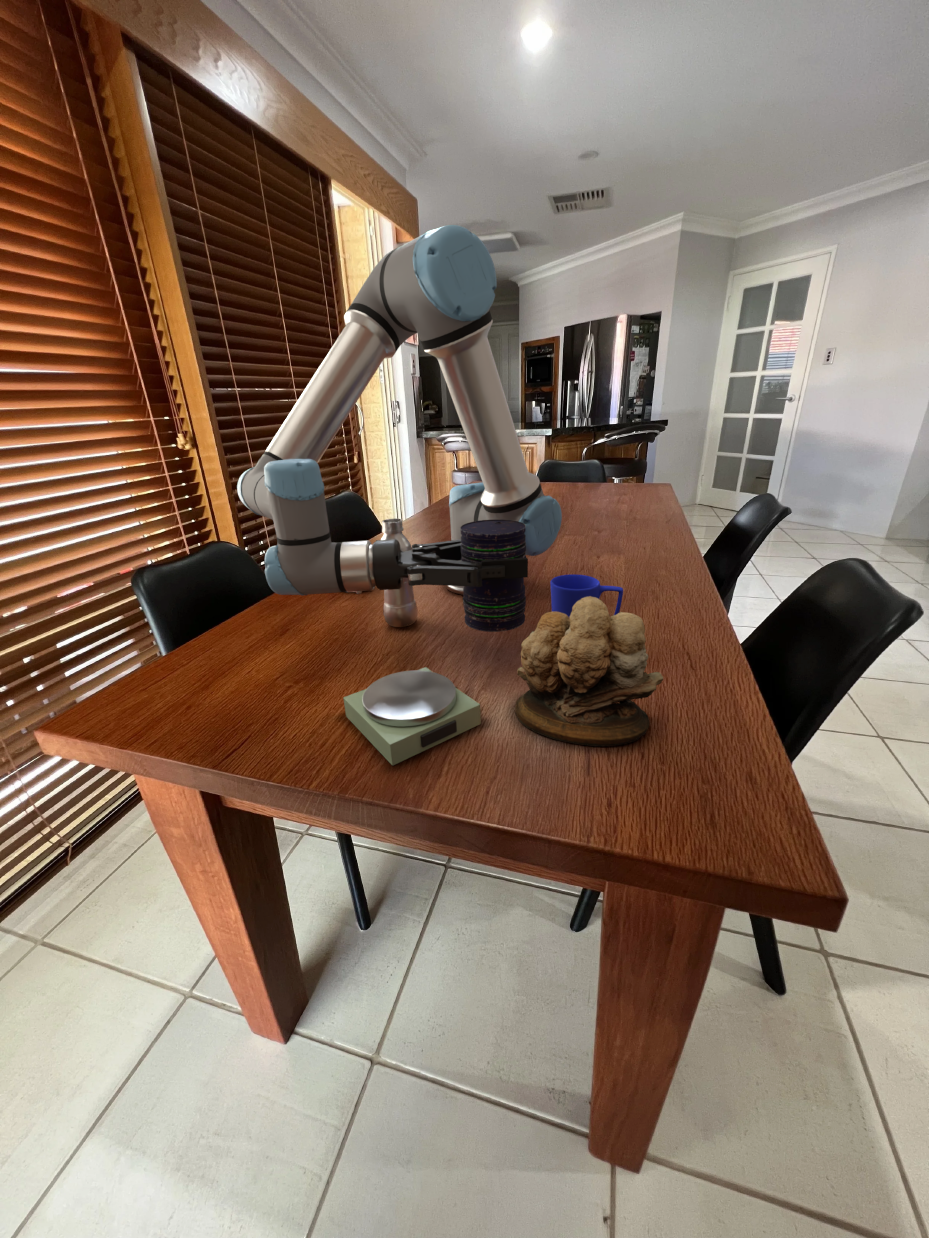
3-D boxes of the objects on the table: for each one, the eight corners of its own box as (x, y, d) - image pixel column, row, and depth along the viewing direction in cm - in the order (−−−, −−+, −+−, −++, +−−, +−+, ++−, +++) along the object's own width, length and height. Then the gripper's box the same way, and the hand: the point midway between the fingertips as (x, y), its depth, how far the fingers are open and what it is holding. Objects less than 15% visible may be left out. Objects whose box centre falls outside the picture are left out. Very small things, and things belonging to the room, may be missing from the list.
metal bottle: (424, 619, 97) (416, 517, 89) (409, 633, 91) (400, 525, 84) (394, 616, 99) (384, 516, 91) (378, 629, 93) (366, 524, 86)
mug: (620, 647, 83) (626, 591, 79) (547, 643, 85) (549, 588, 81) (617, 627, 90) (621, 575, 86) (549, 624, 92) (551, 573, 89)
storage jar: (516, 635, 73) (516, 536, 67) (454, 628, 76) (449, 533, 70) (532, 610, 82) (533, 520, 76) (475, 605, 85) (472, 518, 79)
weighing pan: (347, 696, 66) (346, 689, 65) (424, 668, 72) (424, 661, 72) (391, 739, 57) (390, 732, 56) (474, 702, 63) (474, 695, 63)
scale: (345, 716, 67) (342, 697, 66) (427, 684, 74) (425, 666, 73) (393, 767, 57) (391, 746, 56) (482, 725, 64) (482, 705, 63)
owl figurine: (655, 703, 67) (670, 584, 60) (657, 758, 57) (677, 621, 50) (523, 686, 72) (524, 575, 66) (504, 734, 62) (503, 607, 55)
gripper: (384, 567, 86) (511, 560, 87) (367, 617, 66) (534, 607, 66) (379, 524, 83) (511, 517, 84) (360, 563, 63) (535, 553, 63)
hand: (521, 557), depth 75 cm, fingers closed on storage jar, 10 cm apart
